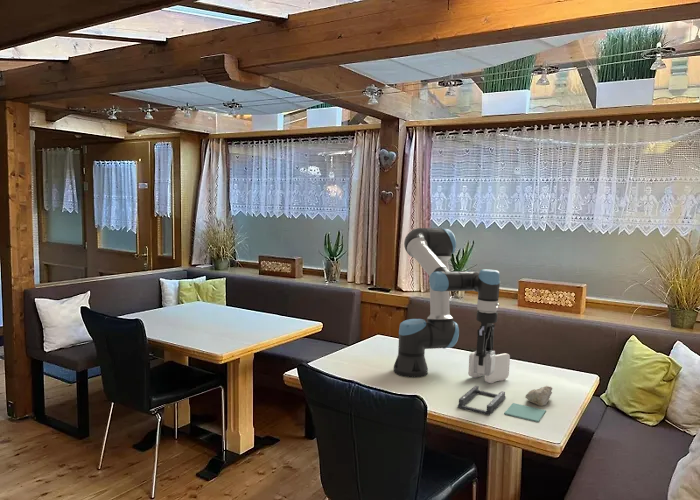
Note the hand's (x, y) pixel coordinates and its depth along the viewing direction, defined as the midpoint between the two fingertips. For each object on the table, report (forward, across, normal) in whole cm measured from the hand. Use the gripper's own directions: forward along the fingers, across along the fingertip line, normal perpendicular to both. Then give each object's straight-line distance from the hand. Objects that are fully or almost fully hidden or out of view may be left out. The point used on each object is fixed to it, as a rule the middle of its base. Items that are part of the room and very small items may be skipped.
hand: (483, 370), depth 200 cm
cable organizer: (+13, +30, +7) cm, 33 cm away
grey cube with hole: (0, 0, 0) cm, 0 cm away
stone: (+13, +15, -18) cm, 26 cm away
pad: (+12, 0, -16) cm, 20 cm away
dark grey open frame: (+12, 0, 0) cm, 12 cm away
